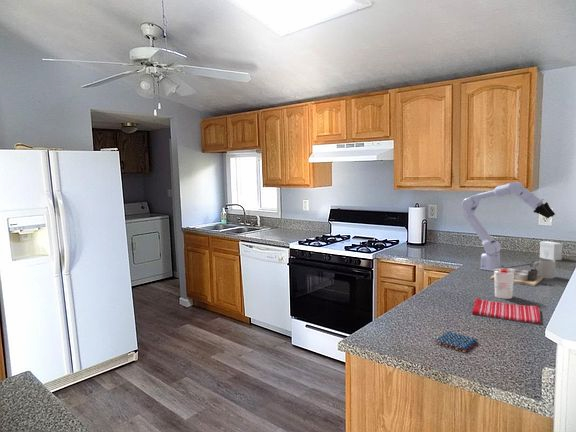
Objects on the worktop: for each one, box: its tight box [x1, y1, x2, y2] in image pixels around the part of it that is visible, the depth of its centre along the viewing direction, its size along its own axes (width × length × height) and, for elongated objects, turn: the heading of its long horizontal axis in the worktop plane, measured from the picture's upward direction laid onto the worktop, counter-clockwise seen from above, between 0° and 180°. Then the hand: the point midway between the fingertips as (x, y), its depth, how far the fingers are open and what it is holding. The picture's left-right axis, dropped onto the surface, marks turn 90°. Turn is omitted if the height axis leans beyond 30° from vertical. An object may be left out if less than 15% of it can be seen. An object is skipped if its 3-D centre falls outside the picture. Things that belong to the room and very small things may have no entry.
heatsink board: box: [489, 265, 544, 287], centre depth 203 cm, size 20×16×6 cm
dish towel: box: [471, 298, 542, 325], centre depth 157 cm, size 17×24×3 cm
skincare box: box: [539, 240, 563, 261], centre depth 246 cm, size 10×6×10 cm, turn 14°
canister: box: [493, 268, 515, 300], centre depth 176 cm, size 10×8×12 cm
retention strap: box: [500, 262, 534, 269], centre depth 203 cm, size 16×3×2 cm, turn 45°
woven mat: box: [434, 331, 479, 353], centre depth 131 cm, size 10×11×2 cm
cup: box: [532, 258, 557, 280], centre depth 207 cm, size 7×10×9 cm
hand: (551, 216), depth 202 cm, fingers open, 7 cm apart
